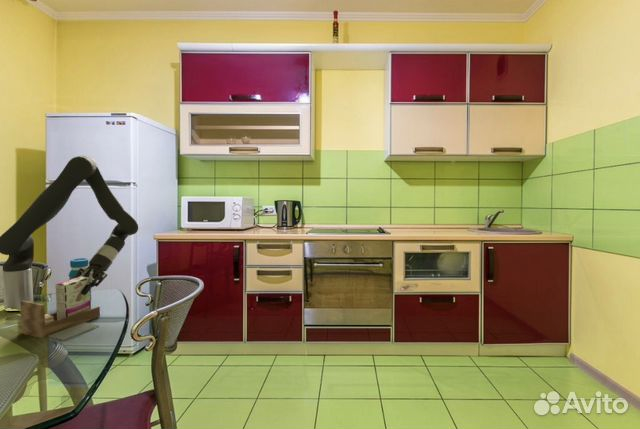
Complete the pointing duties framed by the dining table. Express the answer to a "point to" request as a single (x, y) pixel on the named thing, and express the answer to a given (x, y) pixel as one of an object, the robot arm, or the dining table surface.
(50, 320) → the offcut stack
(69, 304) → the candy bar box
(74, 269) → the beverage bottle
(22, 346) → the dining table surface
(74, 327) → the slate mat
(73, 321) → the slot rack
